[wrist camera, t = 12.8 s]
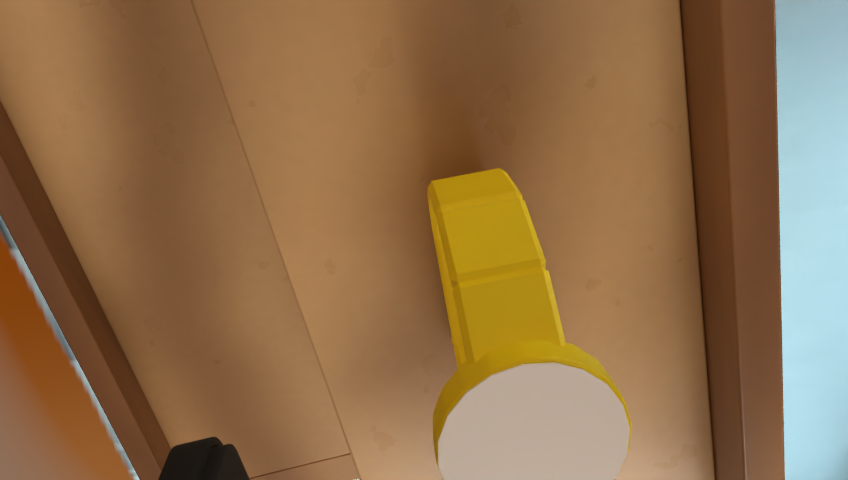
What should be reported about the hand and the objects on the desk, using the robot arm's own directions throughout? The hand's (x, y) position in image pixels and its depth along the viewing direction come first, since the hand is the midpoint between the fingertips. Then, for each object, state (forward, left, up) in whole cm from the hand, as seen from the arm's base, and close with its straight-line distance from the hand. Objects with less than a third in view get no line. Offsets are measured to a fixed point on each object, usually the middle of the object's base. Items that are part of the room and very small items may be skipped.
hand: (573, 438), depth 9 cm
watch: (0, 0, -6) cm, 6 cm away
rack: (+2, -3, -18) cm, 18 cm away
